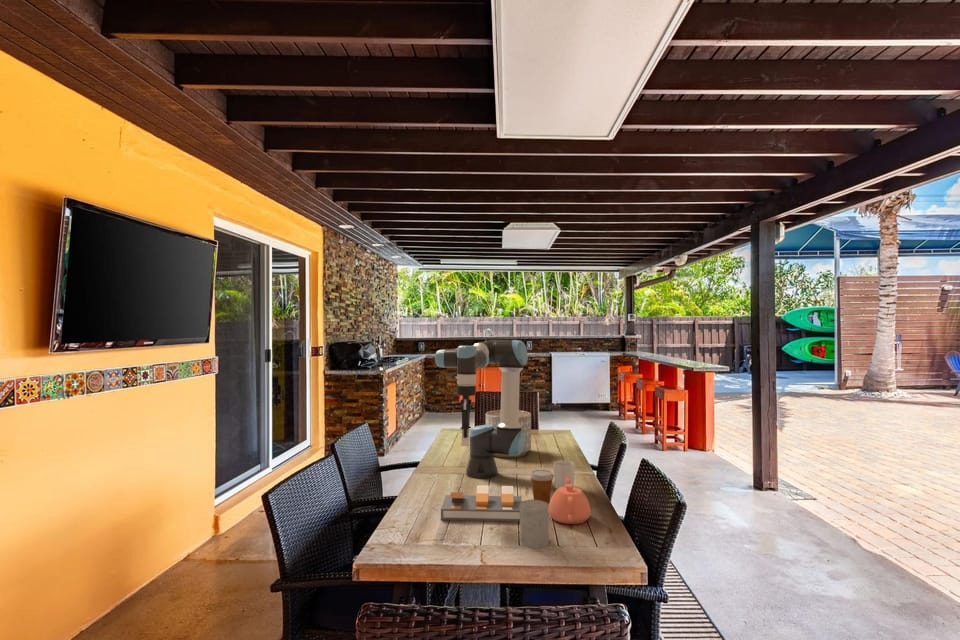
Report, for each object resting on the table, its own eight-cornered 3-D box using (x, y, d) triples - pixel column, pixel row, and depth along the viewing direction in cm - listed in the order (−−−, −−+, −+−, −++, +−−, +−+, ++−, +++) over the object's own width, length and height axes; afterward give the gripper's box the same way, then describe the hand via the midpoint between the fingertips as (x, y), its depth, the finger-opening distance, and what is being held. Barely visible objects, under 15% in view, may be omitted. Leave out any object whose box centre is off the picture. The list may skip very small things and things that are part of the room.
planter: (532, 458, 281) (532, 417, 281) (485, 458, 281) (485, 417, 282) (529, 447, 307) (529, 409, 307) (485, 447, 307) (485, 409, 307)
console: (445, 505, 209) (445, 491, 209) (521, 506, 207) (521, 493, 207) (440, 520, 192) (440, 505, 192) (522, 521, 191) (522, 507, 191)
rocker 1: (453, 497, 205) (453, 492, 206) (464, 498, 205) (464, 492, 205) (450, 497, 196) (450, 492, 196) (462, 498, 195) (462, 492, 196)
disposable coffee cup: (555, 499, 215) (555, 470, 215) (550, 507, 206) (550, 476, 206) (532, 497, 218) (532, 468, 218) (527, 504, 209) (527, 474, 209)
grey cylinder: (517, 536, 178) (517, 500, 178) (545, 535, 179) (545, 499, 179) (522, 548, 168) (522, 509, 168) (551, 547, 169) (551, 509, 169)
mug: (574, 492, 224) (574, 466, 225) (553, 491, 226) (553, 465, 226) (575, 484, 236) (575, 459, 236) (555, 483, 238) (555, 458, 238)
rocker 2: (477, 489, 205) (477, 485, 205) (488, 490, 205) (488, 485, 204) (475, 506, 196) (475, 501, 195) (487, 506, 195) (487, 501, 195)
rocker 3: (501, 490, 205) (501, 485, 204) (513, 490, 204) (513, 486, 204) (501, 506, 195) (501, 502, 194) (513, 506, 195) (513, 502, 194)
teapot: (547, 506, 207) (547, 475, 207) (588, 508, 205) (587, 476, 205) (548, 528, 185) (548, 492, 185) (593, 530, 183) (593, 494, 184)
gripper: (458, 383, 212) (457, 442, 211) (455, 386, 199) (454, 448, 198) (476, 383, 212) (476, 442, 211) (474, 386, 199) (473, 449, 198)
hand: (465, 445), depth 204 cm, fingers closed
